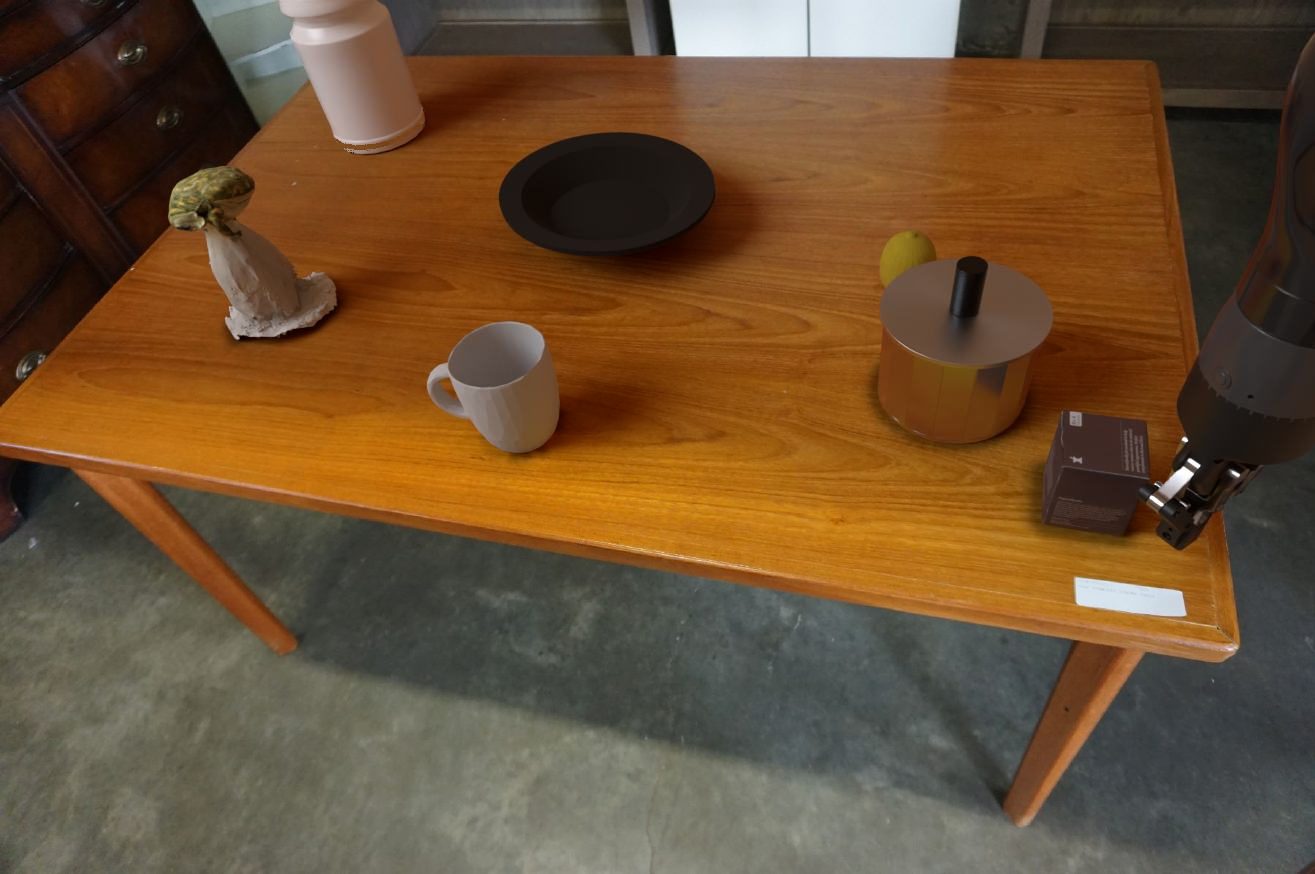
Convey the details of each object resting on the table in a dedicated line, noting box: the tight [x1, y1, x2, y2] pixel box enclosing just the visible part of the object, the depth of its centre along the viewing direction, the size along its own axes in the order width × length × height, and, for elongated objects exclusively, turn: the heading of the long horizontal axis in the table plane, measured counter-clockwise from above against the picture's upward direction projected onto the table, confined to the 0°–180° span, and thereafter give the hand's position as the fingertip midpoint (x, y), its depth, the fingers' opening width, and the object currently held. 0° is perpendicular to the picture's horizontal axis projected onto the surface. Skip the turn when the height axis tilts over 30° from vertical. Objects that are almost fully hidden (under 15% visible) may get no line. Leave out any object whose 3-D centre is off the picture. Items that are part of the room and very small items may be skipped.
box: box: [1041, 410, 1151, 537], centre depth 65 cm, size 6×6×7 cm
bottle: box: [278, 0, 426, 155], centre depth 117 cm, size 14×14×28 cm
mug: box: [426, 320, 561, 454], centre depth 78 cm, size 13×9×10 cm
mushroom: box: [167, 165, 338, 340], centre depth 92 cm, size 12×13×18 cm
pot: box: [876, 327, 1042, 445], centre depth 74 cm, size 13×13×10 cm
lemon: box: [879, 230, 938, 289], centre depth 84 cm, size 6×6×8 cm
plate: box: [498, 131, 717, 258], centre depth 100 cm, size 28×24×6 cm
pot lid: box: [878, 255, 1054, 369], centre depth 69 cm, size 14×14×6 cm
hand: (1174, 537), depth 61 cm, fingers closed
